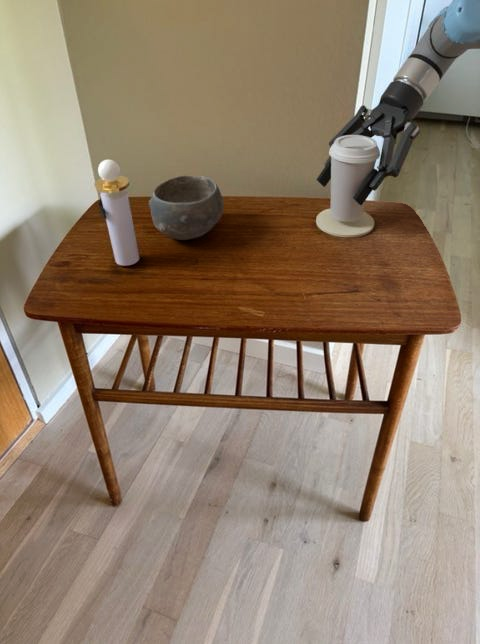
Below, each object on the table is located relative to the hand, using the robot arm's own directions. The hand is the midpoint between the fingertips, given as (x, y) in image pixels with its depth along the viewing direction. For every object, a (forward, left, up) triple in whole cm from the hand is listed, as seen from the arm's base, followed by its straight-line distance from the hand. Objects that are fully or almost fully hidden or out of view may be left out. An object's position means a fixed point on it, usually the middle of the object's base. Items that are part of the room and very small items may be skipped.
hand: (338, 192), depth 95 cm
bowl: (+20, +23, -8) cm, 31 cm away
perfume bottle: (+20, +38, -8) cm, 43 cm away
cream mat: (0, -3, -8) cm, 8 cm away
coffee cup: (0, -3, -6) cm, 7 cm away
